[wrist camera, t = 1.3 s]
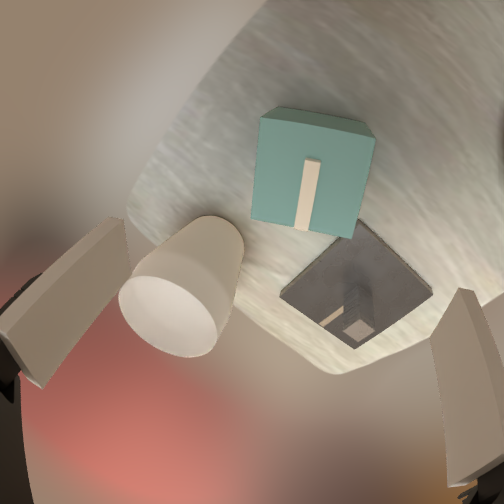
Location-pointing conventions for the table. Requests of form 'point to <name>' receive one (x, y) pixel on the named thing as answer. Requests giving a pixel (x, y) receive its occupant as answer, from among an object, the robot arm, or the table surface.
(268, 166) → the teal block
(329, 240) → the table surface
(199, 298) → the cup
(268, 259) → the table surface
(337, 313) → the shaft fixture
